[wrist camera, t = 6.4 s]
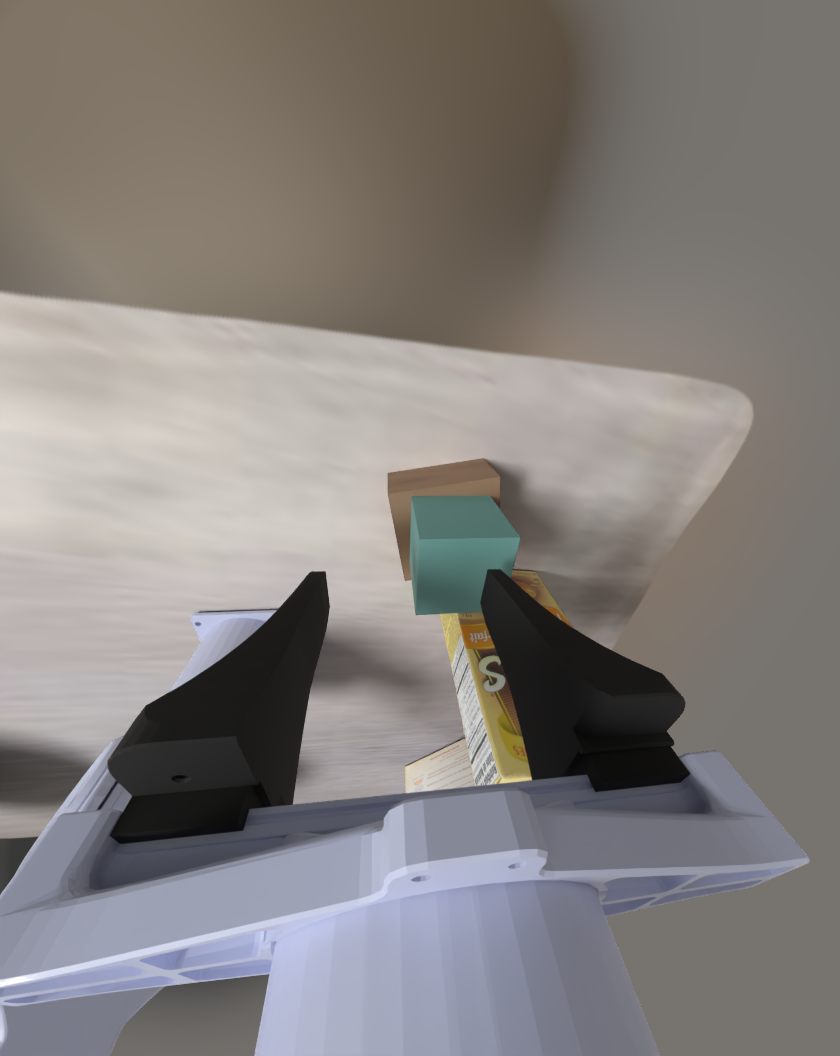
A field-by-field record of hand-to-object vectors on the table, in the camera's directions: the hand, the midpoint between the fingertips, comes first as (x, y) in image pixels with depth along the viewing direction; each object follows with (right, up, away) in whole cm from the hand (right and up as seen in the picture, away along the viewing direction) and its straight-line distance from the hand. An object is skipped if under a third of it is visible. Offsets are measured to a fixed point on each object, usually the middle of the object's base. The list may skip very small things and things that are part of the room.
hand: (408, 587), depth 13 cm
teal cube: (+2, +2, +7) cm, 7 cm away
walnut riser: (+2, +4, +10) cm, 11 cm away
